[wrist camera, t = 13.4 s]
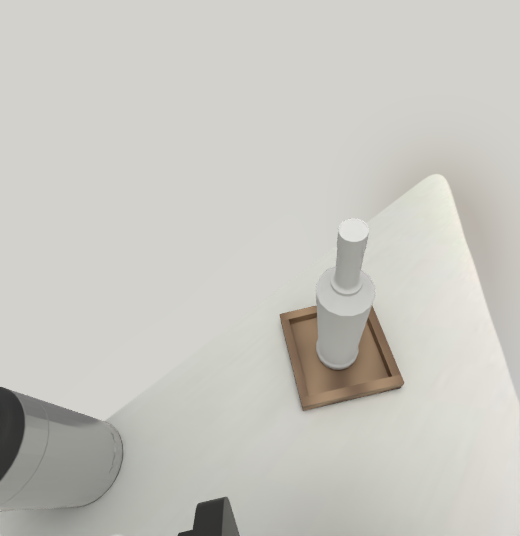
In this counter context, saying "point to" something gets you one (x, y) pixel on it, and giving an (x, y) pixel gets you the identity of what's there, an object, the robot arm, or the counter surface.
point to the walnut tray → (338, 381)
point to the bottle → (344, 299)
